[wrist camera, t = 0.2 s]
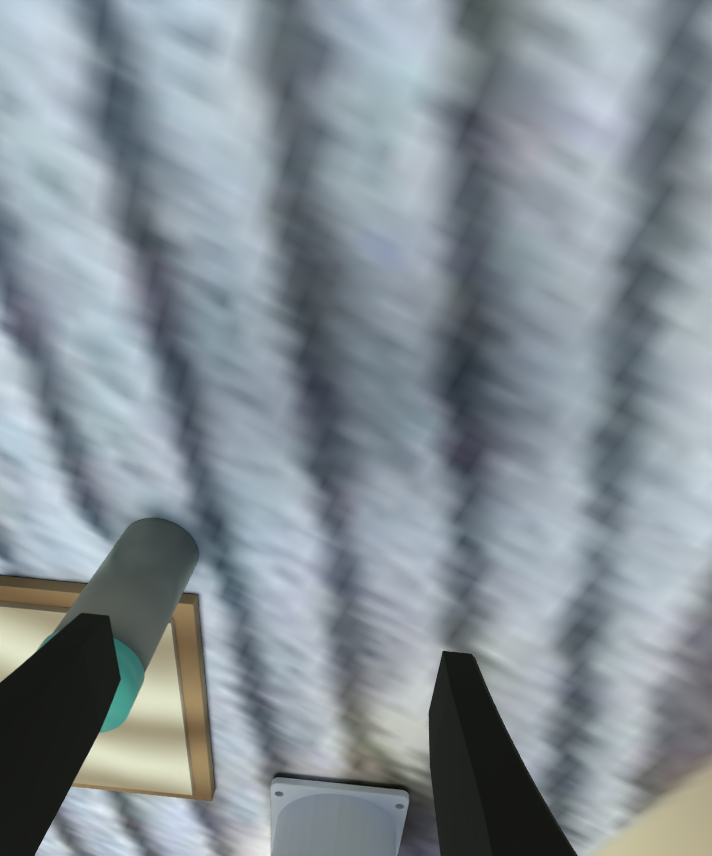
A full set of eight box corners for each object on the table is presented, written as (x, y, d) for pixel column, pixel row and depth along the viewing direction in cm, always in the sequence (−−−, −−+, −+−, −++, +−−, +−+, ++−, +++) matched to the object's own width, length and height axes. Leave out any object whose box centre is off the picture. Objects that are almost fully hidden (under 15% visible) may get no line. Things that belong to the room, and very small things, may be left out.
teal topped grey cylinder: (203, 583, 24) (135, 738, 18) (125, 576, 24) (29, 727, 18) (198, 520, 22) (121, 665, 16) (114, 512, 22) (4, 654, 16)
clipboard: (215, 790, 32) (208, 814, 31) (-102, 757, 32) (-121, 779, 31) (197, 594, 24) (188, 616, 23) (-214, 554, 25) (-244, 573, 23)
